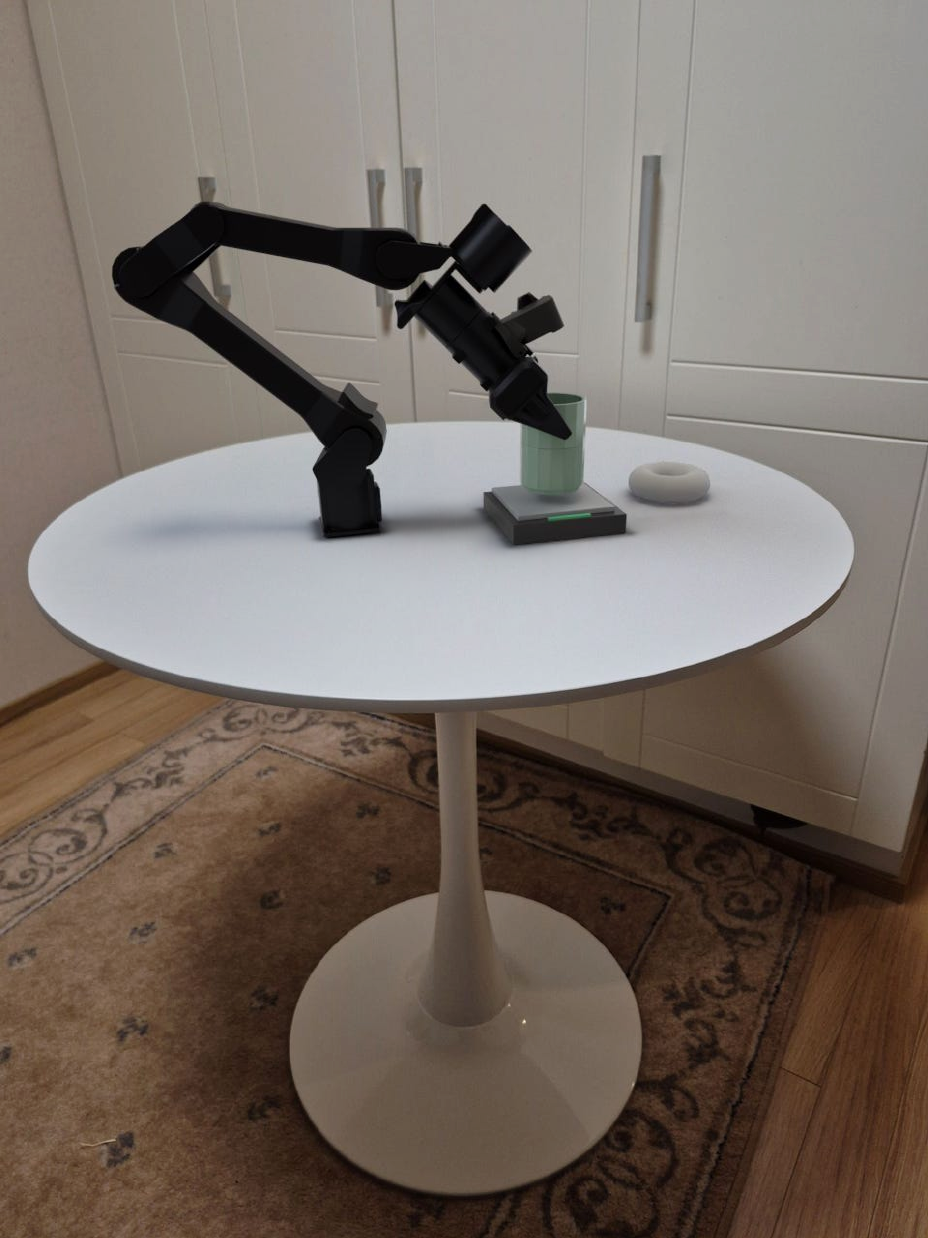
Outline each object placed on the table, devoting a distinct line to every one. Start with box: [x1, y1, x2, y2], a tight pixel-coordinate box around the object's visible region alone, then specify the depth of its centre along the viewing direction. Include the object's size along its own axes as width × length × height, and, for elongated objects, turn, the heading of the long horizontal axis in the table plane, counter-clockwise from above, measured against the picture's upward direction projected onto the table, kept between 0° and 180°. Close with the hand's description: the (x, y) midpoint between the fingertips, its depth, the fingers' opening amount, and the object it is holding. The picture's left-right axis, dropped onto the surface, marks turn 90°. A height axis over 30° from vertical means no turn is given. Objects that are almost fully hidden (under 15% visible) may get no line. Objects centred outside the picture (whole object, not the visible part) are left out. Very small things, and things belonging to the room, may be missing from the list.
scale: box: [482, 481, 628, 546], centre depth 99 cm, size 13×13×3 cm
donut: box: [628, 461, 711, 505], centre depth 107 cm, size 10×4×10 cm
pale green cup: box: [519, 391, 588, 495], centre depth 96 cm, size 7×7×10 cm
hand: (564, 429), depth 95 cm, fingers closed on pale green cup, 7 cm apart
